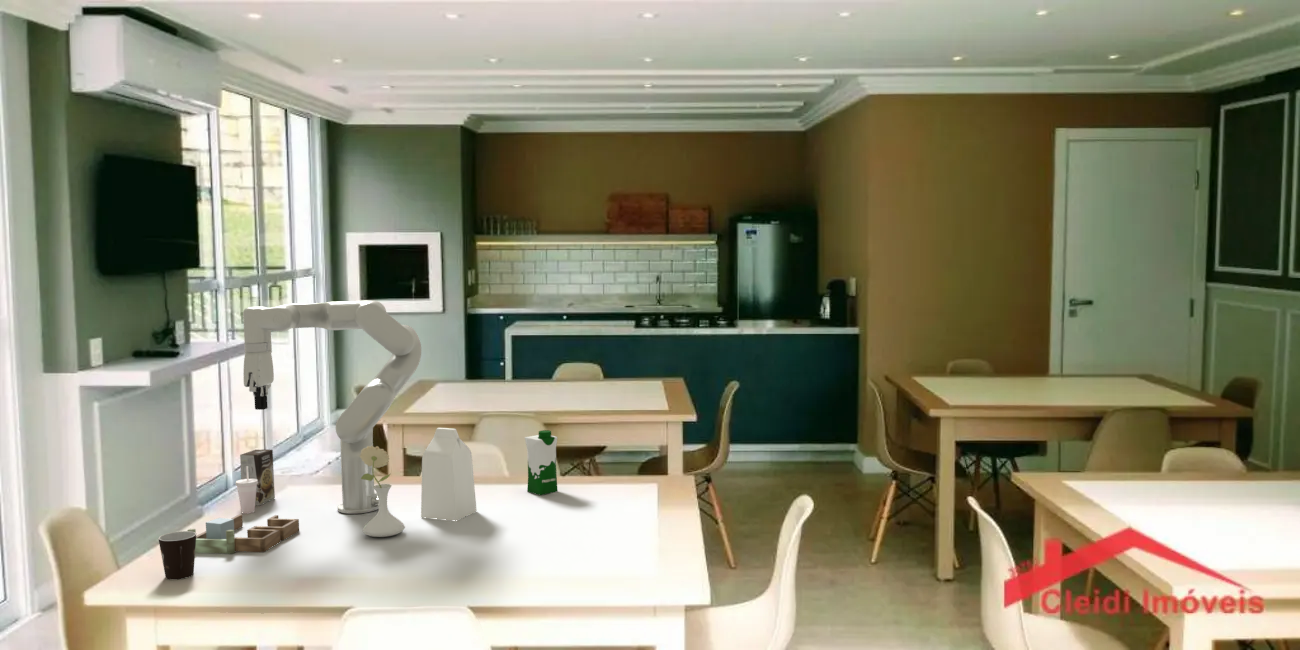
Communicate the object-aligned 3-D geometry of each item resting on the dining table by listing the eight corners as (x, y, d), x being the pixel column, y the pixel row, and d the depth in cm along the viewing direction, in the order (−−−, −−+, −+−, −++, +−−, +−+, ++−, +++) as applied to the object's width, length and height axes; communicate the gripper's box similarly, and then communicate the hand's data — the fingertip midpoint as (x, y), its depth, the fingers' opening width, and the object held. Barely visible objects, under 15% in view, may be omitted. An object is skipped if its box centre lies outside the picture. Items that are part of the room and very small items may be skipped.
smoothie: (263, 510, 328) (261, 465, 327) (249, 515, 322) (247, 469, 321) (246, 508, 330) (244, 463, 329) (232, 513, 324) (229, 468, 323)
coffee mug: (168, 570, 269) (165, 531, 269) (203, 569, 270) (201, 530, 269) (150, 585, 258) (148, 545, 257) (187, 584, 259) (185, 543, 258)
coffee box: (260, 506, 333) (257, 454, 332) (241, 505, 335) (238, 454, 333) (275, 498, 342) (273, 449, 341) (257, 498, 344) (255, 448, 342)
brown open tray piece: (304, 527, 307) (304, 507, 307) (259, 554, 282) (258, 532, 281) (238, 526, 310) (237, 505, 310) (187, 552, 285) (185, 530, 284)
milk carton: (539, 496, 339) (538, 434, 338) (523, 491, 346) (521, 430, 344) (561, 491, 345) (560, 430, 343) (544, 487, 352) (543, 426, 350)
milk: (421, 517, 316) (417, 430, 314) (442, 508, 327) (439, 424, 324) (455, 521, 312) (452, 433, 309) (476, 511, 322) (473, 426, 320)
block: (235, 544, 292) (233, 519, 291) (221, 549, 287) (220, 523, 287) (220, 542, 294) (219, 517, 293) (207, 547, 289) (205, 522, 289)
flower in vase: (413, 531, 302) (410, 443, 299) (387, 542, 291) (383, 451, 289) (376, 526, 307) (372, 440, 305) (349, 537, 297) (345, 448, 295)
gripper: (259, 345, 327) (262, 405, 328) (233, 351, 312) (236, 413, 314) (282, 345, 326) (285, 405, 327) (257, 351, 311) (260, 413, 313)
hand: (261, 408), depth 321 cm, fingers closed
